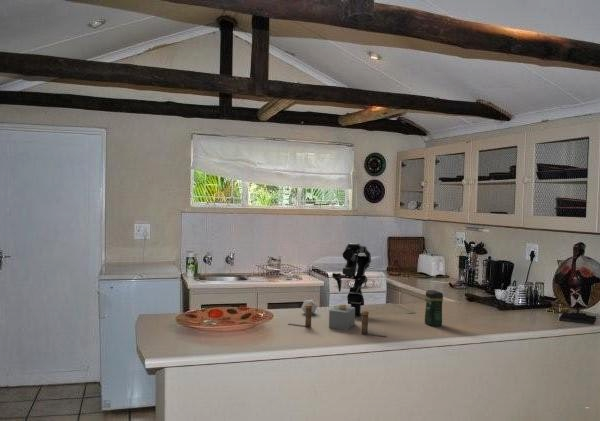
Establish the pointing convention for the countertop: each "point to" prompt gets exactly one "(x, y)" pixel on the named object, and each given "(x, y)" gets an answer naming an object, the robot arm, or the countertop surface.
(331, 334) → the countertop surface
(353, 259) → the robot arm
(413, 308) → the countertop surface
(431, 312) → the coffee jar
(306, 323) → the brown l-shaped pieces
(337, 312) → the gray block
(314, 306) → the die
